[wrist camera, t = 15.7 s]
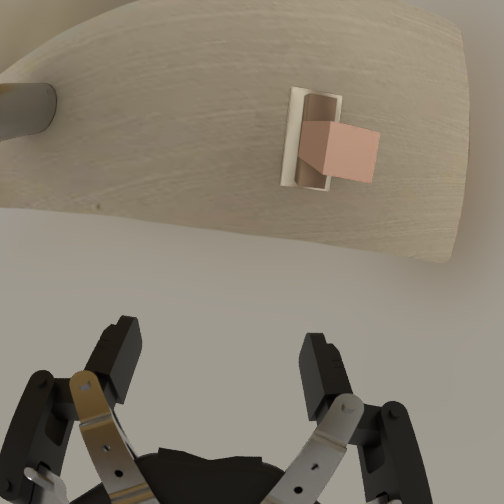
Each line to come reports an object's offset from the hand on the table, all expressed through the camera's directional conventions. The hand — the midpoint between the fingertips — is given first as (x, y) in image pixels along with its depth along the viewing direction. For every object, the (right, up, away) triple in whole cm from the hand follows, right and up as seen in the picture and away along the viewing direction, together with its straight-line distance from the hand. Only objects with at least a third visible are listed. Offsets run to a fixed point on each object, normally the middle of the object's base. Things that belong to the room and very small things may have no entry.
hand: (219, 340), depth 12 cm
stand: (+10, +20, +23) cm, 32 cm away
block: (+10, +18, +19) cm, 27 cm away
